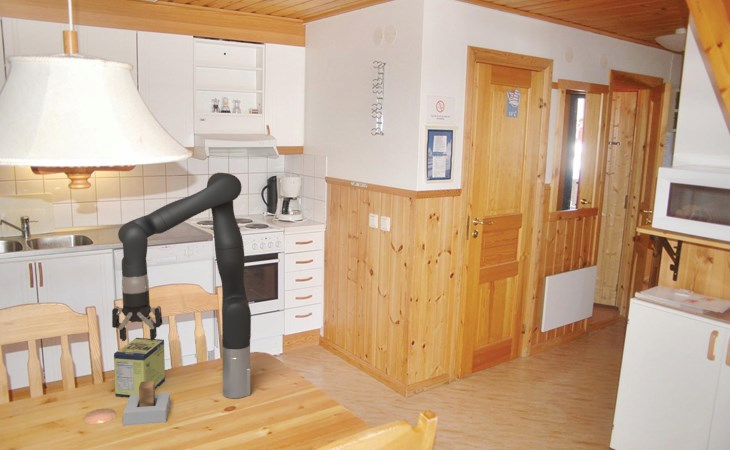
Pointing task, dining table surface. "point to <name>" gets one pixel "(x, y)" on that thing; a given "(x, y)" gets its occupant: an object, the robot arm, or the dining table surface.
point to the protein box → (138, 365)
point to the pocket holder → (146, 410)
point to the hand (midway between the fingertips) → (138, 340)
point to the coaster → (99, 416)
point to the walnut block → (147, 394)
